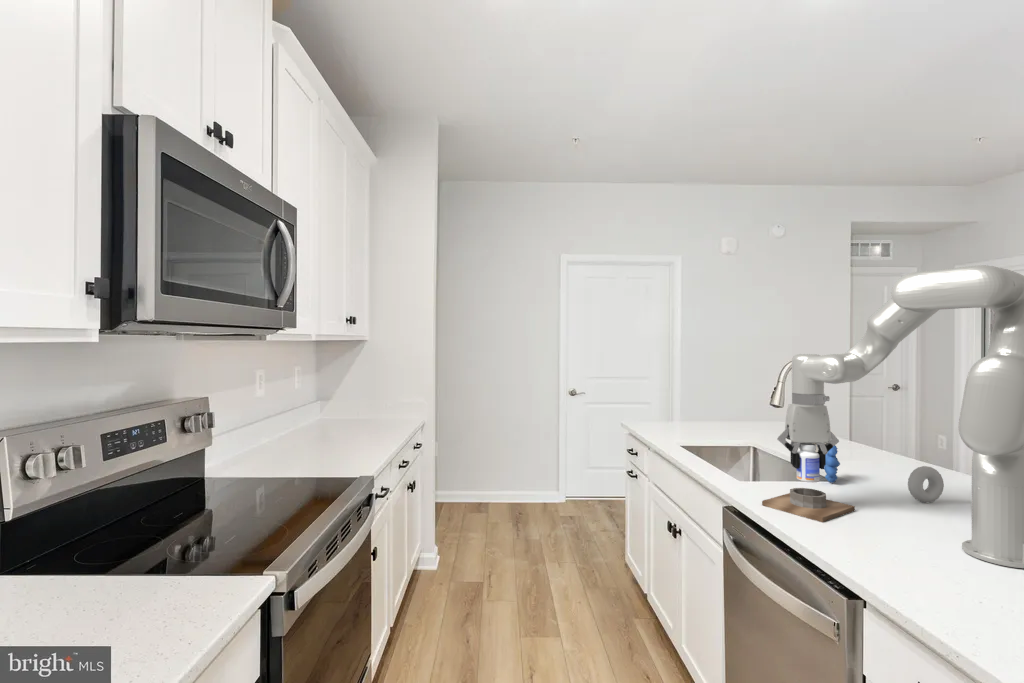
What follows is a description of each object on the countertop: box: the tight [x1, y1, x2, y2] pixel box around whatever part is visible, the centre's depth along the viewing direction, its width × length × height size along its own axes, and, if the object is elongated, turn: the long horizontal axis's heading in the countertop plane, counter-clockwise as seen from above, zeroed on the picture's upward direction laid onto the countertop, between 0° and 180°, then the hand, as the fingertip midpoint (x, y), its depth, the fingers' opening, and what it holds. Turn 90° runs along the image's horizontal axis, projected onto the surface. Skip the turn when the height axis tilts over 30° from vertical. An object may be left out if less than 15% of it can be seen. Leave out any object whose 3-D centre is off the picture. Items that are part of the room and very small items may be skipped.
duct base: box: [761, 487, 856, 523], centre depth 142 cm, size 16×16×4 cm
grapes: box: [823, 445, 841, 484], centre depth 168 cm, size 12×7×12 cm, turn 147°
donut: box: [907, 465, 945, 503], centre depth 146 cm, size 10×4×10 cm, turn 99°
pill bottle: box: [796, 443, 821, 483], centre depth 142 cm, size 5×5×10 cm
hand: (807, 467), depth 142 cm, fingers closed on pill bottle, 5 cm apart
